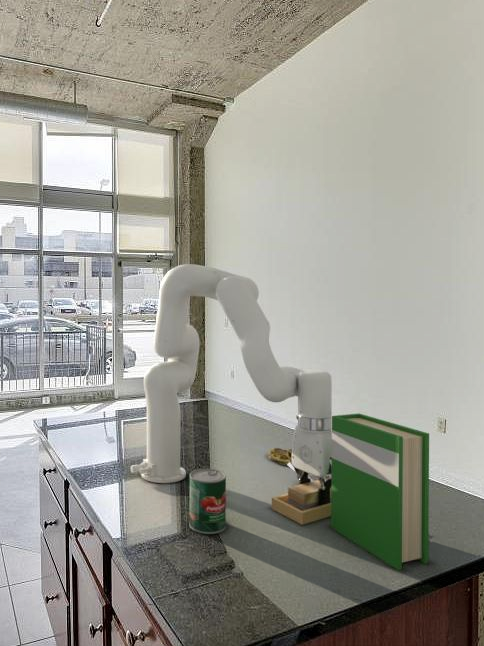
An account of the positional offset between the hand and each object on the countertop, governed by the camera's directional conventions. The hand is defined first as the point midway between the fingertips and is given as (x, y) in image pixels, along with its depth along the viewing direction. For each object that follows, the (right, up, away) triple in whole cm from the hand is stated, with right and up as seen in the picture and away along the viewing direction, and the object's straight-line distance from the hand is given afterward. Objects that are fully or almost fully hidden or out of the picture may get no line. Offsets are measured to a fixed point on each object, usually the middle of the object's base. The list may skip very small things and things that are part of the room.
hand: (314, 499), depth 113 cm
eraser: (0, 0, 0) cm, 0 cm away
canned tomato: (-26, -2, -9) cm, 28 cm away
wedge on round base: (+6, -2, +17) cm, 19 cm away
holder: (0, -2, 0) cm, 2 cm away
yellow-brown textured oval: (+2, -2, +36) cm, 36 cm away
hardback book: (+7, -2, -17) cm, 18 cm away
